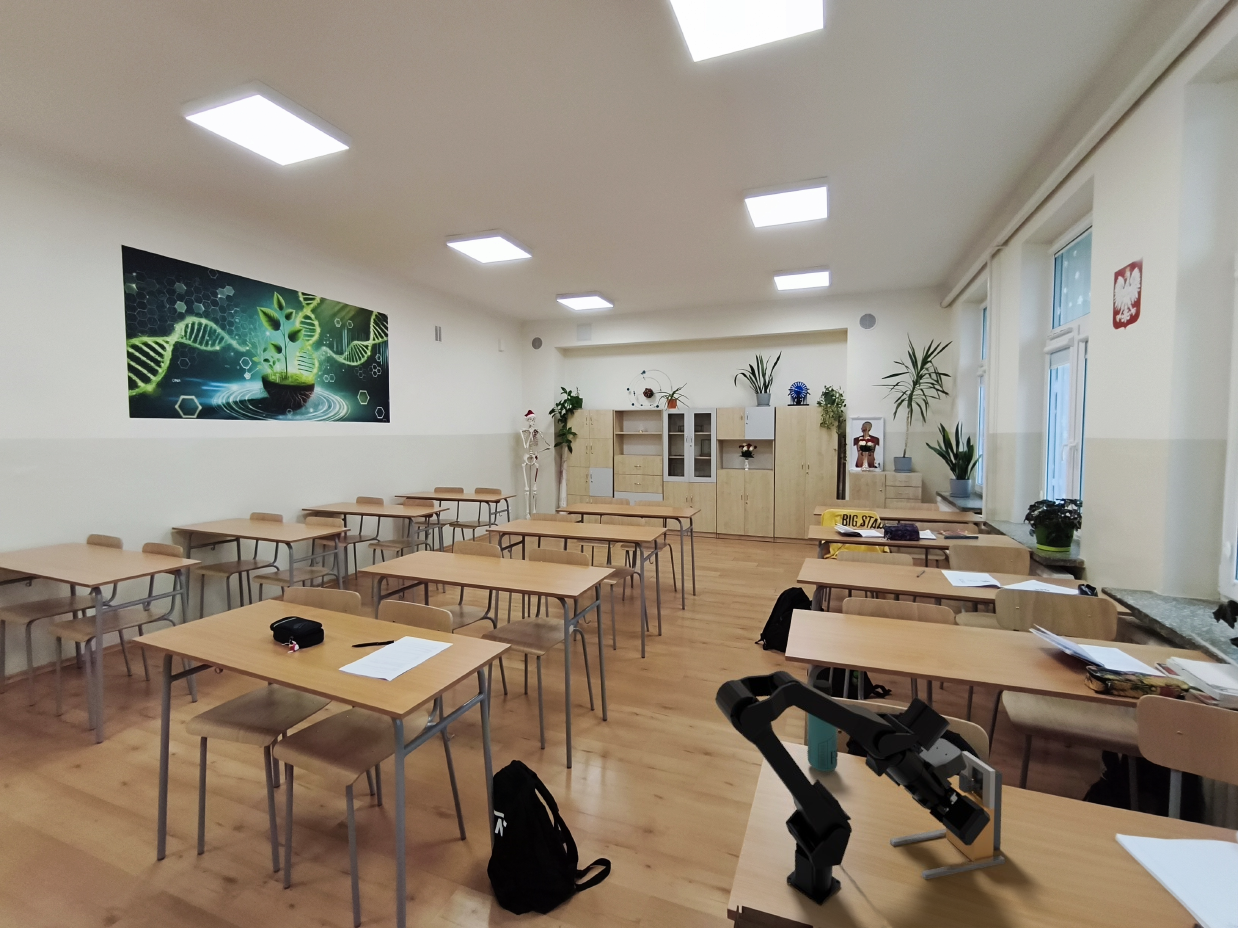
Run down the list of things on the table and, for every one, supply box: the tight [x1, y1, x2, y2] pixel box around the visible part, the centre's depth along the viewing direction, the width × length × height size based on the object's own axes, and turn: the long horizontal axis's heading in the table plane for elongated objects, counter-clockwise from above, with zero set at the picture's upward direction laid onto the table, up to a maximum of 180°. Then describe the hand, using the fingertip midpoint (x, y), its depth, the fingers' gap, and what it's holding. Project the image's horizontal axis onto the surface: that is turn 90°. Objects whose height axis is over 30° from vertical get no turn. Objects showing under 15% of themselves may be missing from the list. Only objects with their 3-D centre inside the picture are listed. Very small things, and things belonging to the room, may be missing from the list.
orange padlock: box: [945, 750, 995, 861], centre depth 97 cm, size 4×6×16 cm, turn 12°
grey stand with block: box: [889, 763, 1006, 880], centre depth 96 cm, size 18×10×15 cm, turn 102°
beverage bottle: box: [806, 679, 839, 772], centre depth 122 cm, size 6×7×20 cm
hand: (959, 819), depth 97 cm, fingers closed, pressing on orange padlock
